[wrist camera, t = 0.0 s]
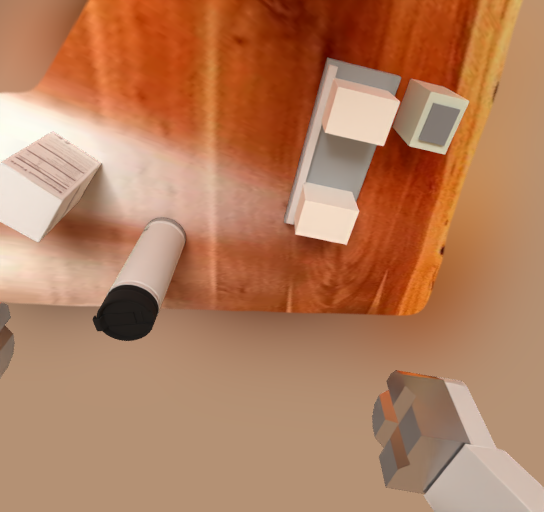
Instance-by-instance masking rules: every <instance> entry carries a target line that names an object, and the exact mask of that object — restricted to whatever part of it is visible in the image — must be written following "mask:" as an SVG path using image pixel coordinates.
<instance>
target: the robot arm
mask: <svg viewBox="0 0 544 512" xmlns="http://www.w3.org/2000/svg"><path fill="white" fill-rule="evenodd" d="M10 318H11V316H10V312H9V307H8V305H6V304H4V303H2V302H0V378H1V376H2V375H3V374H4V372H5V371H6V369H7V368H8V366H9V363H10V361H11V358H12V355H13V352H14V335H13V333H12V332H11V331H10V330H9V329H8V328H7V327H6V326H5V324H6V323H7V322H8V320H9V319H10ZM387 385H388V389H389V390H387V391H385V392H383V393H381V394H380V395H379V396H378V398H377V400H376V402H375V404H374V409H373V415H372V420H373V421H372V422H373V431H374V436H375V438H376V439H377V441H378V442H379V443H380V444H381V445H382V446H383V450H382V452H381V454H380V456H379V459H380V463H381V468H382V472H383V477H384V482H385V486H386V488H392V489H398V490H404V491H409V492H415V493H421V494H425V495H424V497H425V499H426V500H427V502H428V503H429V505H430V506H431V507H432V509H433V510H434V512H544V487H542V486H541V485H540V484H539V483H538V482H537V481H536V480H535V479H534V478H533V477H532V476H531V475H530V474H529V473H527V472H526V471H525V470H524V469H523V468H522V467H521V466H520V465H519V464H518V463H517V462H516V461H515V460H514V459H513V458H511V456H509V455H508V454H507V453H506V452H505V451H504V450H501V449H497V448H496V446H495V444H494V442H493V440H492V438H491V436H490V434H489V432H488V430H487V427H486V425H485V423H484V421H483V419H482V417H481V415H480V413H479V411H478V409H477V407H476V405H475V403H474V401H473V398H472V396H471V394H470V392H469V390H468V388H467V386H466V385H465V384H464V383H463V382H462V381H459V380H453V379H447V378H440V377H439V378H438V377H434V376H427V375H421V374H415V373H410V372H403V371H397V370H396V371H394V372H393V373H391V375H390V376H389V378H388V380H387Z"/></svg>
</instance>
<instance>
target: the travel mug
mask: <svg viewBox="0 0 544 512" xmlns="http://www.w3.org/2000/svg"><path fill="white" fill-rule="evenodd" d="M185 242H186V235H185V231H184V230H183V228H182V227H181V226H180V225H179V224H178V223H177V222H175V221H174V220H171V219H168V218H156V219H154V220H152V221H150V222H149V223H148V224H147V226H146V227H145V229H144V231H143V233H142V234H141V236H140V238H139V240H138V241H137V243H136V245H135V247H134V248H133V250H132V252H131V254H130V255H129V257H128V259H127V261H126V262H125V264H124V266H123V267H122V269H121V271H120V273H119V274H118V276H117V278H116V280H115V281H114V283H113V285H112V287H111V288H110V290H109V292H108V294H107V296H106V298H105V300H104V302H103V303H102V305H101V307H100V309H99V310H98V313H97V318H96V316H94V317H93V322H94V325H95V327H96V329H97V331H103V332H104V333H105V334H107V335H108V336H110V337H112V338H115V339H118V340H124V341H131V340H137V339H140V338H142V337H144V336H146V335H147V334H148V333H149V332H150V331H151V330H152V327H153V325H154V322H155V320H156V317H157V315H158V313H159V310H160V308H161V305H162V303H163V300H164V297H165V295H166V292H167V290H168V287H169V284H170V282H171V279H172V276H173V274H174V271H175V268H176V266H177V263H178V261H179V258H180V255H181V253H182V250H183V247H184V245H185Z"/></svg>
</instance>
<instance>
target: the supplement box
mask: <svg viewBox="0 0 544 512" xmlns="http://www.w3.org/2000/svg"><path fill="white" fill-rule="evenodd" d="M100 165H101V163H100V162H99V161H98V160H96V159H95V158H93V157H92V156H90V155H89V154H87V153H86V152H84V151H83V150H81V149H80V148H78V147H77V146H75V145H74V144H72V143H71V142H69V141H68V140H66V139H65V138H63V137H61V136H60V135H59V134H57V133H55V132H54V131H52V132H50V133H49V134H47V135H45V136H44V137H42V138H41V139H39V140H37V141H36V142H34V143H32V144H31V145H29V146H27V147H26V148H24V149H22V150H20V151H19V152H17V153H15V154H14V155H12V156H10V157H9V158H7V159H6V160H4V161H2V162H1V163H0V222H2V223H3V224H5V225H7V226H9V227H11V228H12V229H14V230H16V231H18V232H20V233H21V234H23V235H25V236H27V237H29V238H30V239H32V240H34V241H36V242H40V241H41V240H42V239H43V238H44V237H45V236H46V235H47V234H48V233H49V231H50V230H51V229H52V228H53V227H54V226H55V225H56V224H57V223H58V222H59V221H60V220H61V219H62V218H63V217H64V216H65V215H66V214H67V213H68V212H69V211H70V210H71V209H72V208H73V207H74V206H75V205H76V204H77V203H78V202H79V200H80V199H81V197H82V195H83V193H84V191H85V189H86V188H87V186H88V184H89V183H90V181H91V179H92V178H93V176H94V174H95V173H96V171H97V170H98V168H99V167H100Z"/></svg>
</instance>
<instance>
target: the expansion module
mask: <svg viewBox="0 0 544 512" xmlns="http://www.w3.org/2000/svg"><path fill="white" fill-rule="evenodd" d="M468 104H469V100H467V99H465V98H463V97H461V96H460V95H458V94H456V93H454V92H453V91H451V90H449V89H447V88H445V87H443V86H439V85H435V84H431V83H427V82H423V81H419V80H415V79H410V82H409V84H408V87H407V90H406V92H405V95H404V98H403V100H402V103H401V105H400V108H399V111H398V113H397V116H396V119H395V121H394V124H393V128H394V129H395V131H396V132H397V133H398V134H399V135H400V136H401V138H402V139H403V140H404V141H405V142H406V143H407V145H408V146H410V147H414V148H419V149H423V150H427V151H432V152H436V153H440V154H445V153H446V151H447V149H448V147H449V145H450V143H451V140H452V138H453V136H454V134H455V132H456V130H457V127H458V125H459V123H460V121H461V119H462V117H463V114H464V112H465V110H466V108H467V106H468Z"/></svg>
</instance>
